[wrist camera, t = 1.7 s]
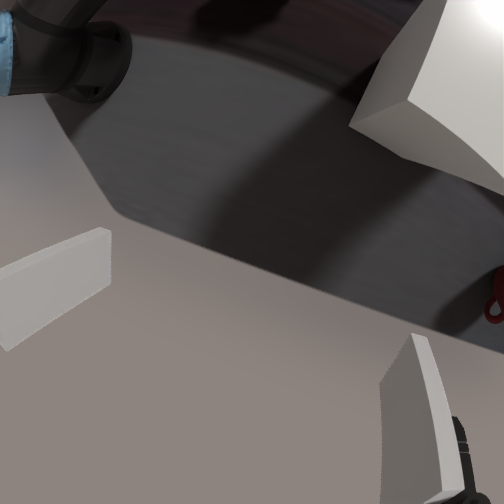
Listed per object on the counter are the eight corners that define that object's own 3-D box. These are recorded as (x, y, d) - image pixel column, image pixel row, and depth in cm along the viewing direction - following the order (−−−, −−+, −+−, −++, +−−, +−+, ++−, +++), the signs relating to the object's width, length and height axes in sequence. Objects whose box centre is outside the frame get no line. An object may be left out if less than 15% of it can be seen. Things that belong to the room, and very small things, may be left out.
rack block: (348, 125, 31) (407, 99, 8) (381, 57, 27) (462, -51, 3) (401, 157, 31) (531, 208, 8) (434, 89, 26) (571, 50, 3)
